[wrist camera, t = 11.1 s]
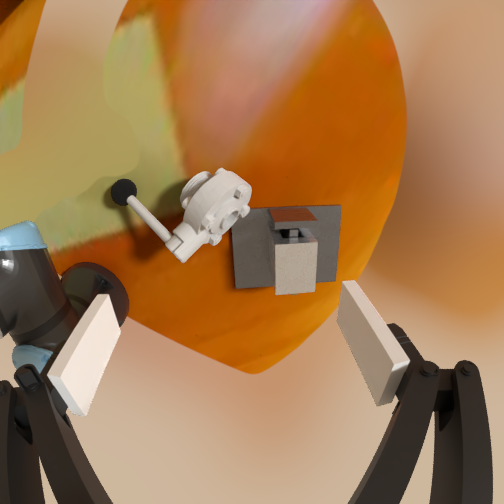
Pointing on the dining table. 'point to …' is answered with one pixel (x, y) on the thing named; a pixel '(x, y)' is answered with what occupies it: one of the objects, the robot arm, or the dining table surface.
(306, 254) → the hollow grey box
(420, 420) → the robot arm
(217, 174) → the valve
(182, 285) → the dining table surface
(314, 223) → the dark grey angled piece
